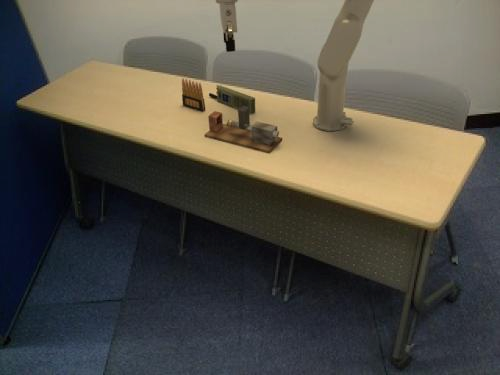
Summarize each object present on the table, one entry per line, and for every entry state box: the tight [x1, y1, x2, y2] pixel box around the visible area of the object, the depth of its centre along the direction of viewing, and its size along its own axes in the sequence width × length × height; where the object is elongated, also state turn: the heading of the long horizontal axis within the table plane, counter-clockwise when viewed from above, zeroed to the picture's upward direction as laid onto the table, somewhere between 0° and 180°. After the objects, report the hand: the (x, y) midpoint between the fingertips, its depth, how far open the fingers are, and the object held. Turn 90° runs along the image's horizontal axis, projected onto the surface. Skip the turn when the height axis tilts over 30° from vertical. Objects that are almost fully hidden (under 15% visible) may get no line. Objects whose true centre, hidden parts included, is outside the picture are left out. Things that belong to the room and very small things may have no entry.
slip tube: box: [226, 106, 280, 138], centre depth 166 cm, size 20×4×8 cm, turn 61°
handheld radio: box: [208, 84, 256, 115], centre depth 194 cm, size 7×3×25 cm
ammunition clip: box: [181, 77, 206, 113], centre depth 190 cm, size 11×2×12 cm, turn 54°
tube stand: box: [204, 110, 283, 154], centre depth 170 cm, size 26×10×7 cm, turn 61°
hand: (229, 46), depth 172 cm, fingers open, 9 cm apart
